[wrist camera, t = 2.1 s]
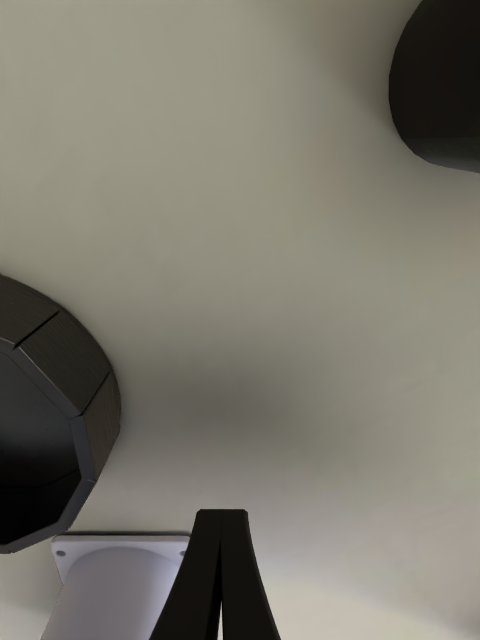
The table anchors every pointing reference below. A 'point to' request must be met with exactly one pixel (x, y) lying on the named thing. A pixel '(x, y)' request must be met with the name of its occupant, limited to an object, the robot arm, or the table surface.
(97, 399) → the pan
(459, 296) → the table surface
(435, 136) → the cup
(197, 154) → the table surface
